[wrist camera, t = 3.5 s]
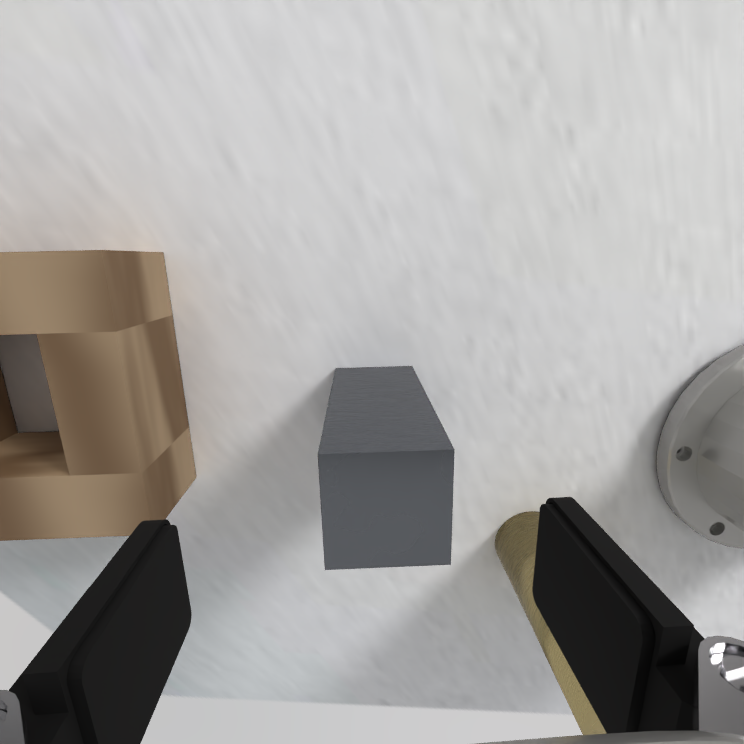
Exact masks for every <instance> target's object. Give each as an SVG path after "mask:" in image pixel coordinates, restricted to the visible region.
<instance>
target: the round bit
mask: <svg viewBox="0 0 744 744" xmlns="http://www.w3.org/2000/svg"><path fill="white" fill-rule="evenodd" d="M539 513H540V512H524V513H520V514H517V515H515V516H513V517H511V518H510V519H509V520H507V521H506V522H505V523H504V524H503V525H502V526H501V528H500V529H499V531H498V533H497V536H496V540H495V548H496V552H497V554H498V556H499V558H500V560H501V563H502V565H503V567H504V569H505V571H506V573H507V575H508V577H509V579H510V582H511V584H512V586H513V588H514V590H515V592H516V594H517V596H518V598H519V601H520V603H521V605H522V607H523V609H524V611H525V613H526V615H527V618H528V620H529V622H530V624H531V626H532V628H533V630H534V632H535V634H536V637H537V639H538V641H539V643H540V645H541V647H542V649H543V651H544V653H545V656H546V658H547V660H548V662H549V664H550V666H551V668H552V670H553V672H554V675H555V677H556V679H557V681H558V683H559V685H560V687H561V689H562V692H563V694H564V696H565V698H566V700H567V702H568V704H569V706H570V708H571V711H572V713H573V715H574V717H575V719H576V721H577V723H578V725H579V727H580V730H581V732H582V734H583V735H593V734H607V733H606V731H605V729H604V728H603V726H602V724H601V722H600V720H599V718H598V717H597V715H596V713H595V711H594V709H593V708H592V706H591V704H590V702H589V700H588V698H587V697H586V695H585V693H584V691H583V689H582V688H581V686H580V684H579V682H578V680H577V678H576V677H575V675H574V673H573V671H572V669H571V668H570V666H569V664H568V662H567V660H566V658H565V657H564V655H563V653H562V651H561V649H560V648H559V646H558V644H557V642H556V640H555V638H554V637H553V635H552V633H551V631H550V629H549V628H548V626H547V624H546V622H545V620H544V618H543V617H542V615H541V613H540V611H539V609H538V608H537V606H536V604H535V601H534V598H533V592H532V587H533V576H534V566H535V555H536V545H537V534H538V524H539Z"/></svg>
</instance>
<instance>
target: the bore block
mask: <svg viewBox="0 0 744 744" xmlns="http://www.w3.org/2000/svg"><path fill="white" fill-rule="evenodd" d="M14 334H37V339H38V343H39V347H40V351H41V356H42V360H43V364H44V368H45V373H46V377H47V381H48V386H49V390H50V394H51V398H52V403H53V407H54V411H55V415H56V420H57V424H58V428H59V431H54V432H24V433H18V432H17V428H16V424H15V420H14V416H13V413H12V409H11V405H10V401H9V397H8V394H7V390H6V386H5V382H4V378H3V375H2V371H1V367H0V541H4V540H30V539H55V538H81V537H106V536H130V535H131V534H132V532H133V531H134V530H135V529H136V527H137V526H138V525H139V524H140V523H141V522H142V521H146V520H164V519H166V517H167V516H168V515H169V513H170V512H171V511H172V509H173V508H174V507H175V505H176V504H177V503H178V501H179V500H180V499H181V497H182V496H183V495H184V493H185V492H186V491H187V489H188V488H189V487H190V485H191V484H192V482H193V481H194V480H195V478H196V472H195V465H194V458H193V451H192V445H191V438H190V431H189V424H188V417H187V411H186V404H185V397H184V390H183V383H182V377H181V370H180V363H179V356H178V350H177V343H176V336H175V329H174V322H173V316H172V309H171V302H170V295H169V288H168V282H167V275H166V268H165V261H164V254H163V253H162V252H136V251H110V250H85V251H41V252H0V335H14Z"/></svg>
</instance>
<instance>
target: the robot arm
mask: <svg viewBox="0 0 744 744" xmlns="http://www.w3.org/2000/svg"><path fill="white" fill-rule="evenodd" d="M657 474H658V479H659V484H660V489H661V491H662V493H663V495H664V497H665V499H666V501H667V504H668V505H669V506H670V508H671V509H672V510H673V511H674V513H675V514H676V515H677V516H678V517H679V518H680V519H681V520H682V521H684V522H685V523H686V524H687V525H688V526H690V527H691V528H692V529H693V530H694V531H696V532H697V533H699V534H700V535H702V536H703V537H705V538H707V539H709V540H711V541H714V542H717V543H719V544H722V545H725V546H729V547H736V548H744V345H741V346H739V347H737V348H735V349H734V350H732V351H730V352H729V353H727V354H725V355H724V356H722V357H720V358H719V359H717V360H716V361H715V362H713V363H712V364H711V365H710V366H709V367H707V368H706V369H705V370H704V371H702V372H701V373H700V374H699V375H698V376H697V377H696V378H695V379H694V380H693V381H692V383H691V384H690V385H689V386H688V387H687V388H686V389H685V390H684V391H683V393H682V394H681V396H680V397H679V399H678V400H677V402H676V403H675V405H674V407H673V408H672V410H671V411H670V413H669V416H668V418H667V420H666V423H665V425H664V427H663V430H662V432H661V437H660V441H659V446H658V450H657ZM532 592H533V598H534V601H535V604H536V606H537V608H538V609H539V611H540V613H541V615H542V617H543V618H544V620H545V622H546V624H547V626H548V628H549V629H550V631H551V633H552V635H553V637H554V638H555V640H556V642H557V644H558V646H559V648H560V649H561V651H562V653H563V655H564V657H565V658H566V660H567V662H568V664H569V666H570V668H571V669H572V671H573V673H574V675H575V677H576V678H577V680H578V682H579V684H580V686H581V688H582V689H583V691H584V693H585V695H586V697H587V698H588V700H589V702H590V704H591V706H592V708H593V709H594V711H595V713H596V715H597V717H598V718H599V720H600V722H601V724H602V726H603V728H604V729H605V731H606V733H607V734H593V735H577V736H565V737H552V738H540V739H527V740H514V741H502V742H490V743H477V744H744V641H741V640H738V639H734V638H731V637H724V636H713V637H707V638H706V639H704V638H703V637H702V636H701V635H700V634H699V632H698V631H697V630H696V629H695V628H694V625H693V624H692V623H691V622H690V621H689V620H688V619H687V617H686V616H685V615H684V614H683V613H682V612H681V611H680V610H679V609H678V608H677V607H676V606H675V605H674V604H673V603H672V602H671V601H670V600H669V599H668V597H667V596H666V595H665V594H664V593H663V592H662V591H661V590H660V589H659V588H658V587H657V586H656V585H655V584H654V583H653V582H652V581H651V580H650V579H649V578H648V576H647V575H646V574H645V573H644V572H643V571H642V570H641V569H640V568H639V567H638V566H637V565H636V564H635V563H634V562H633V561H632V560H631V559H630V558H629V556H628V555H627V554H626V553H625V552H624V551H623V550H622V549H621V548H620V547H619V546H618V545H617V544H616V543H615V542H614V541H613V540H612V539H611V538H610V536H609V535H608V534H607V533H606V532H605V531H604V530H603V529H602V528H601V527H600V526H599V525H598V524H597V523H596V522H595V521H594V520H593V519H592V518H591V516H590V515H589V514H588V513H587V512H586V511H585V510H584V509H583V508H582V507H581V506H580V505H579V504H578V503H577V502H576V501H575V500H574V499H573V498H572V497H561V498H549V499H547V501H546V504H542V505H541V507H540V513H539V524H538V534H537V545H536V555H535V566H534V576H533V587H532ZM190 623H191V607H190V601H189V595H188V589H187V583H186V577H185V572H184V566H183V560H182V554H181V548H180V542H179V536H178V530H177V527H176V526H175V525H170V522H169V521H168V520H166V519H164V520H146V521H142V522H141V523H140V524H139V525H138V526H137V527H136V529H135V530H134V531H133V532H132V534H131V535H130V536H129V538H128V539H127V540H126V541H125V543H124V544H123V545H122V547H121V548H120V549H119V550H118V552H117V553H116V554H115V556H114V557H113V558H112V559H111V561H110V562H109V563H108V564H107V566H106V567H105V568H104V570H103V571H102V572H101V573H100V575H99V576H98V577H97V579H96V580H95V581H94V582H93V584H92V585H91V586H90V587H89V588H88V589H87V591H86V592H85V593H84V595H83V596H82V597H81V598H80V600H79V601H78V602H77V604H76V605H75V606H74V607H73V609H72V610H71V611H70V613H69V614H68V615H67V616H66V618H65V619H64V620H63V622H62V623H61V624H60V625H59V627H58V628H57V629H56V631H55V632H54V633H53V634H52V636H51V637H50V638H49V639H48V641H47V642H46V644H45V645H44V646H43V647H42V649H41V650H40V651H39V652H38V654H37V655H36V656H35V657H34V659H33V660H32V661H31V663H30V664H29V665H28V666H27V668H26V669H25V670H24V672H23V673H22V674H21V675H20V677H19V678H18V679H17V681H16V682H15V683H14V684H13V686H12V687H11V688H10V689H9V691H8V690H0V744H140V743H141V741H142V738H143V736H144V734H145V731H146V729H147V726H148V724H149V722H150V719H151V717H152V715H153V712H154V710H155V708H156V705H157V703H158V701H159V698H160V696H161V693H162V691H163V689H164V686H165V684H166V682H167V679H168V677H169V675H170V672H171V670H172V667H173V665H174V663H175V660H176V658H177V656H178V653H179V651H180V649H181V646H182V644H183V641H184V639H185V637H186V634H187V632H188V630H189V627H190Z"/></svg>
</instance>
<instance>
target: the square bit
mask: <svg viewBox="0 0 744 744" xmlns="http://www.w3.org/2000/svg"><path fill="white" fill-rule="evenodd" d="M318 466H319V482H320V498H321V514H322V530H323V546H324V562H325V570H333V569H357V568H381V567H404V566H428V565H451V541H452V508H453V476H454V448H453V446H452V444H451V442H450V440H449V438H448V436H447V434H446V432H445V430H444V428H443V426H442V424H441V422H440V420H439V418H438V416H437V414H436V412H435V410H434V408H433V406H432V404H431V402H430V401H429V399H428V397H427V395H426V393H425V391H424V389H423V387H422V385H421V383H420V381H419V379H418V377H417V375H416V373H415V371H414V369H413V367H412V366H395V367H362V368H336V370H335V374H334V379H333V384H332V389H331V393H330V398H329V403H328V408H327V413H326V417H325V422H324V427H323V432H322V436H321V441H320V446H319V451H318Z"/></svg>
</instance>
